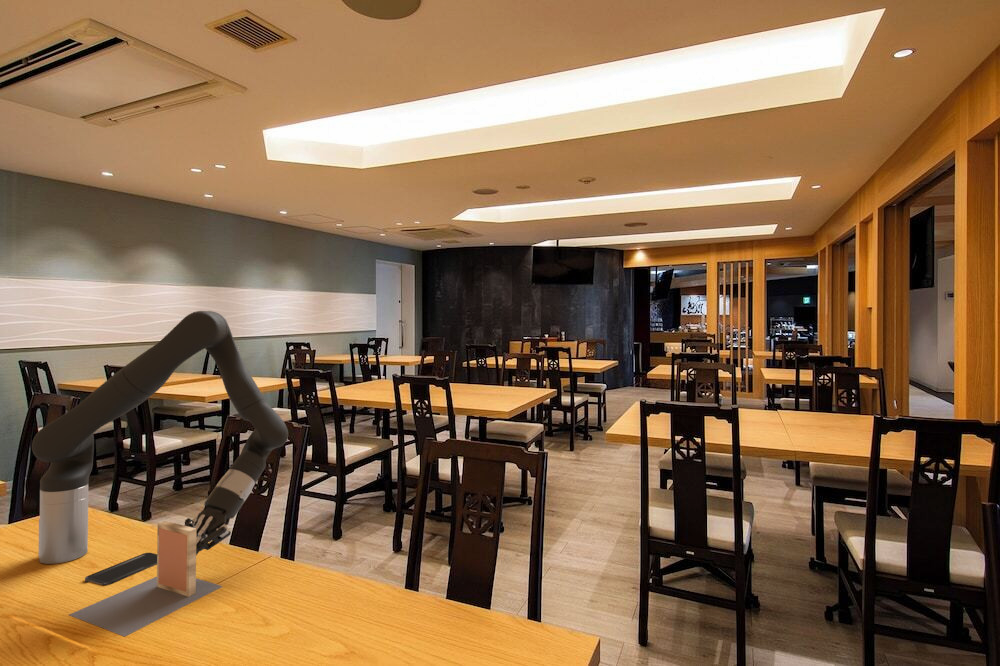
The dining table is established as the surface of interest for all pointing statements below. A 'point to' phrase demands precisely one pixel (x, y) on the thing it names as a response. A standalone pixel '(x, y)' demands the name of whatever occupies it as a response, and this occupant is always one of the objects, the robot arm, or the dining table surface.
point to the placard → (176, 558)
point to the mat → (139, 606)
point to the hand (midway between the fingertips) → (182, 564)
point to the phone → (123, 569)
